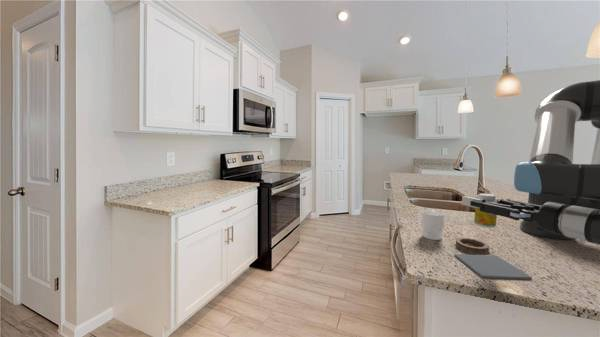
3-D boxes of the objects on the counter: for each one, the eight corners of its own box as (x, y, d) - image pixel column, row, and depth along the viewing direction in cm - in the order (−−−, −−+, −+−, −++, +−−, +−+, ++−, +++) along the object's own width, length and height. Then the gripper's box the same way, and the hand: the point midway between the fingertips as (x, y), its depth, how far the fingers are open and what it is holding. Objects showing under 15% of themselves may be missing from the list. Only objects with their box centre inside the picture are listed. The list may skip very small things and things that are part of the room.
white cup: (446, 241, 90) (448, 216, 89) (424, 240, 92) (425, 214, 91) (438, 234, 98) (440, 210, 97) (418, 232, 99) (419, 209, 98)
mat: (495, 257, 78) (495, 255, 77) (531, 279, 65) (531, 277, 65) (454, 256, 78) (454, 254, 78) (482, 277, 65) (482, 275, 65)
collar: (476, 243, 89) (476, 237, 88) (495, 254, 79) (495, 248, 79) (450, 242, 89) (450, 237, 89) (466, 253, 80) (466, 248, 80)
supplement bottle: (469, 222, 76) (471, 193, 76) (485, 222, 77) (487, 192, 76) (483, 228, 71) (486, 196, 70) (500, 227, 71) (503, 196, 71)
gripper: (541, 240, 54) (448, 213, 76) (586, 231, 60) (487, 208, 81) (544, 208, 53) (449, 190, 75) (589, 202, 59) (489, 186, 81)
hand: (469, 199), depth 78 cm, fingers closed on supplement bottle, 5 cm apart
